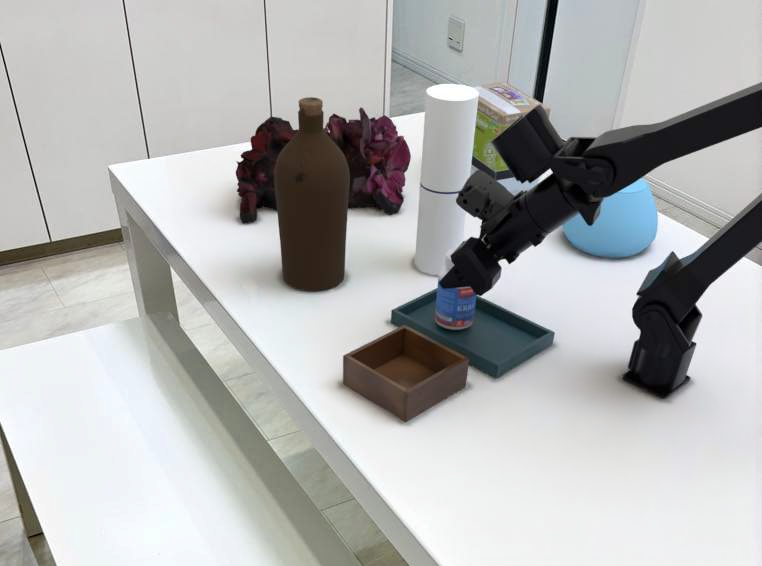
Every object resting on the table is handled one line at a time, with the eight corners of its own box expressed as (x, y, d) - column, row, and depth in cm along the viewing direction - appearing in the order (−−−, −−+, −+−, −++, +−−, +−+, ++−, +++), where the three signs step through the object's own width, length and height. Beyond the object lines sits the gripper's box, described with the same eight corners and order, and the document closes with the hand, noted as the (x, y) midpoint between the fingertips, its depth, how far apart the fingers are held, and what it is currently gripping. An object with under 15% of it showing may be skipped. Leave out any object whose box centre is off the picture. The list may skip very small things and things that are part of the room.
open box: (465, 386, 111) (469, 358, 108) (405, 422, 105) (407, 393, 102) (402, 352, 116) (404, 324, 113) (342, 383, 111) (342, 355, 108)
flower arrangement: (247, 234, 141) (239, 138, 131) (223, 187, 155) (215, 97, 144) (424, 213, 148) (431, 121, 138) (387, 170, 162) (391, 83, 151)
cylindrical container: (407, 268, 134) (417, 95, 116) (426, 250, 138) (439, 80, 121) (449, 279, 131) (466, 104, 114) (467, 260, 136) (486, 89, 119)
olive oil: (355, 290, 129) (359, 111, 111) (285, 297, 127) (278, 117, 109) (339, 257, 136) (340, 85, 118) (273, 264, 134) (264, 90, 116)
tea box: (449, 171, 162) (457, 86, 152) (495, 163, 165) (506, 79, 155) (491, 202, 152) (502, 113, 142) (539, 193, 155) (553, 105, 145)
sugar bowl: (543, 228, 145) (555, 157, 137) (619, 216, 149) (635, 146, 141) (590, 267, 135) (607, 194, 127) (671, 253, 139) (692, 181, 131)
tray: (552, 345, 118) (555, 332, 117) (496, 378, 112) (498, 365, 111) (447, 294, 128) (449, 281, 127) (390, 322, 122) (391, 309, 120)
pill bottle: (458, 335, 118) (465, 268, 111) (426, 322, 120) (431, 256, 114) (481, 320, 121) (489, 254, 114) (450, 307, 123) (456, 242, 117)
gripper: (525, 131, 109) (438, 201, 121) (474, 183, 97) (383, 255, 108) (575, 204, 112) (485, 266, 124) (531, 263, 100) (436, 326, 111)
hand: (448, 276), depth 117 cm, fingers closed on pill bottle, 5 cm apart
